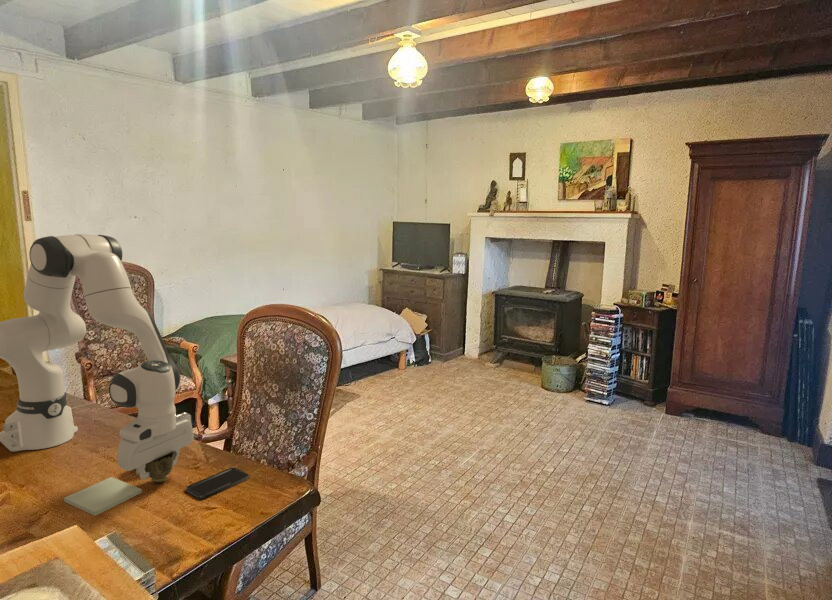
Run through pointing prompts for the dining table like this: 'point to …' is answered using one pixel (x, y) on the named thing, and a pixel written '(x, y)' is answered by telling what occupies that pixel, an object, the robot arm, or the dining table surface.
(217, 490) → the phone
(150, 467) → the cup
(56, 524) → the dining table surface
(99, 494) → the sage board
